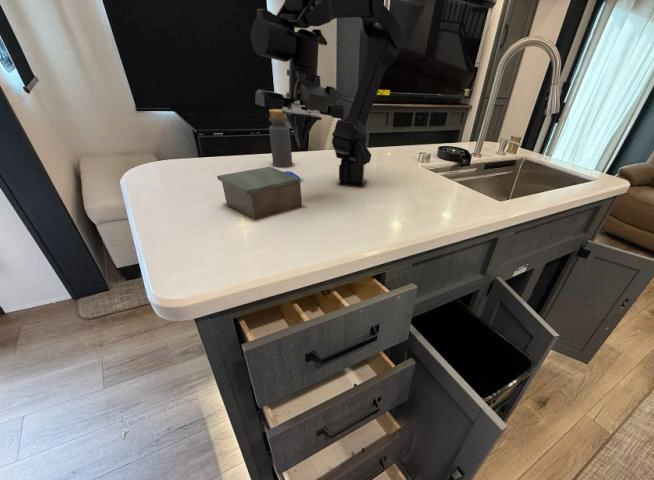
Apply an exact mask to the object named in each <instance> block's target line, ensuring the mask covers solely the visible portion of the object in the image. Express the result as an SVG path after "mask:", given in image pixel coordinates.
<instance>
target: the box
mask: <svg viewBox="0 0 654 480" xmlns="http://www.w3.org/2000/svg"><path fill="white" fill-rule="evenodd" d="M221 185H222V189H223V195H224V198H225V202H226V205H227V206H230V208H232V209H234V210H236V211H238V212H240V213H242V215H243V214H244V216H246V217H249V218H250V219H252V220H253V221H257V220H260V219H265V218H268V217H271V216H274V215H275V216H276V215H278V214H283V213H285V212H289V211H292V210H295V209H299V208H302V207H303V200H302V187H301V186H302V185H301V181H300V182H299V183H294V184H290V185H286V186H281V187H277V188H273V189H268V190H264V191H260V192H255V193H251V194H245V193H243V192H241V191H239V190H238V189H236V188H234V187H232V186H230V185H228V184H226V183H224V182H222V181H221Z"/></svg>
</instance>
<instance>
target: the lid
mask: <svg viewBox="0 0 654 480" xmlns="http://www.w3.org/2000/svg"><path fill="white" fill-rule="evenodd" d="M216 178H217V180H218V181H220V182H221V183H222V182H224V183H226V184H228V185H230V186H232V187H234V188H236V189H238V190H239V191H241V192H243V193H245V194H251V193H255V192H260V191H264V190H268V189H273V188H277V187H281V186H286V185H290V184H294V183H299V182H300V183H301V178H300V179H299V178H297V177H294V176H292V175H290V174H287V173H285V171H282V170H279V169H278V168H275V167H273V166H265V167H259V168H254V169H248V170H242V171H237V172H232V173H231V172H230V173H225V174H220V175H217V176H216Z"/></svg>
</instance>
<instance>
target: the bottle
mask: <svg viewBox="0 0 654 480" xmlns="http://www.w3.org/2000/svg"><path fill="white" fill-rule="evenodd" d="M282 110H283V109H281V110H280V109H273V108H269V110H268V111H269V115H270V116H269V117H268V120H269V122H271V125H269V126H268V130H269V139H270V146H271V147H270V149H271V150H270V151H271V159H272V164H273V166H274V167H278V168H289V167H292V166H293V158H292V157H293V156H292V155H293V154H292V142H291V141H292V140H291V130H290V127H289V126H288V125H287V123H288V118H287V116H286V114H284V113H282Z"/></svg>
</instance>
